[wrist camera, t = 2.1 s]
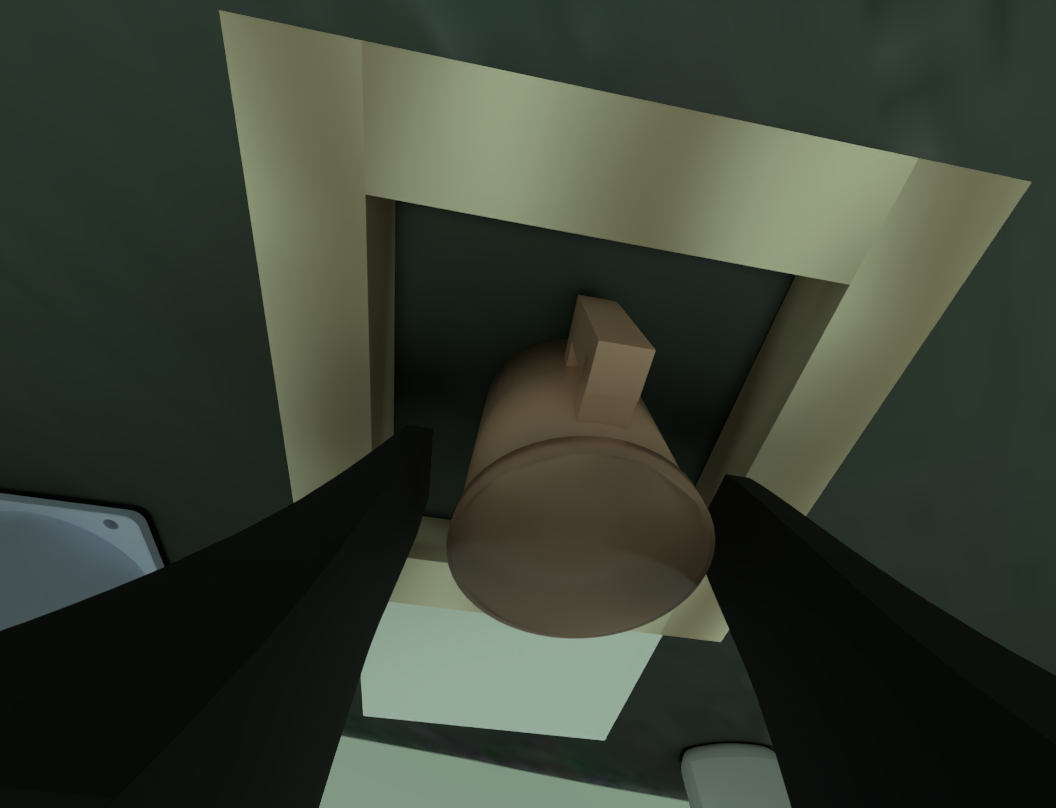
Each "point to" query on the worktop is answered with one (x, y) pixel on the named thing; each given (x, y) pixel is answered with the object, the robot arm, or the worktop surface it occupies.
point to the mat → (498, 673)
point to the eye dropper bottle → (733, 777)
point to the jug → (577, 491)
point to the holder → (593, 210)
